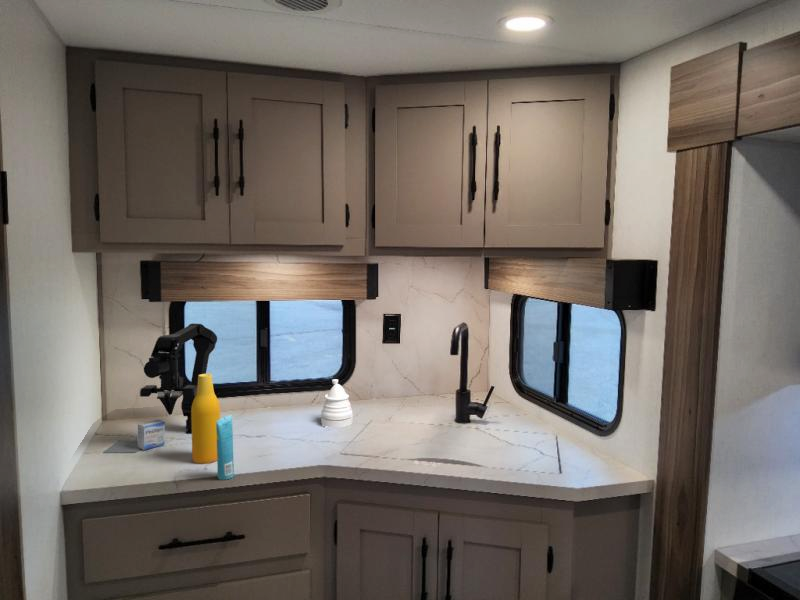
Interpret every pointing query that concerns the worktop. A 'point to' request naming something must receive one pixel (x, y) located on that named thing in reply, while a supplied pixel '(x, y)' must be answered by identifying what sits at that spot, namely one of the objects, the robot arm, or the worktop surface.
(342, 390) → the honey pot
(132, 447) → the rubber mat
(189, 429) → the robot arm
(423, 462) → the worktop surface
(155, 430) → the medicine box
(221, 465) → the tube
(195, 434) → the beer bottle
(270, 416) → the worktop surface
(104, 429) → the worktop surface
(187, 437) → the worktop surface
